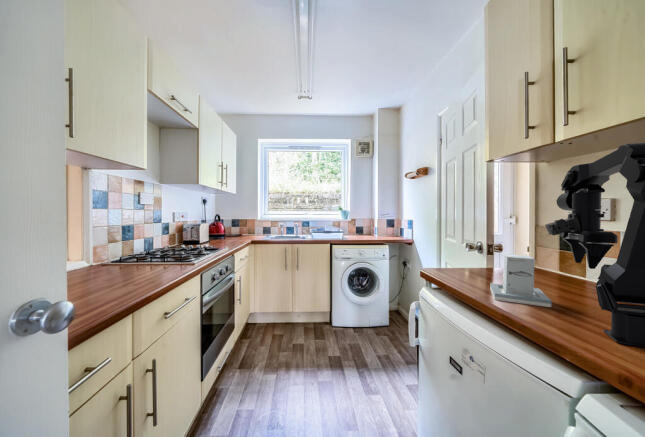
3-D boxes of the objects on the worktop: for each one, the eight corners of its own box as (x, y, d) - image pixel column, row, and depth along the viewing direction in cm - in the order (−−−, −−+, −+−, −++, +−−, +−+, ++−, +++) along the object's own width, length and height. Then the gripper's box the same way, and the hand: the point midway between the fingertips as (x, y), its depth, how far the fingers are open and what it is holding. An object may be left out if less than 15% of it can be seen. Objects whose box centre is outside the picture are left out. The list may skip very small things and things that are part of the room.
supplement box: (505, 295, 85) (506, 256, 84) (502, 289, 91) (503, 253, 91) (534, 299, 81) (535, 258, 81) (529, 292, 87) (530, 255, 87)
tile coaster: (551, 307, 77) (551, 300, 77) (494, 299, 83) (494, 293, 83) (538, 294, 89) (538, 288, 89) (490, 288, 96) (490, 283, 95)
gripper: (540, 210, 85) (539, 258, 85) (559, 209, 68) (557, 268, 69) (586, 210, 80) (585, 261, 80) (619, 209, 63) (617, 273, 63)
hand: (584, 265), depth 73 cm, fingers open, 9 cm apart
